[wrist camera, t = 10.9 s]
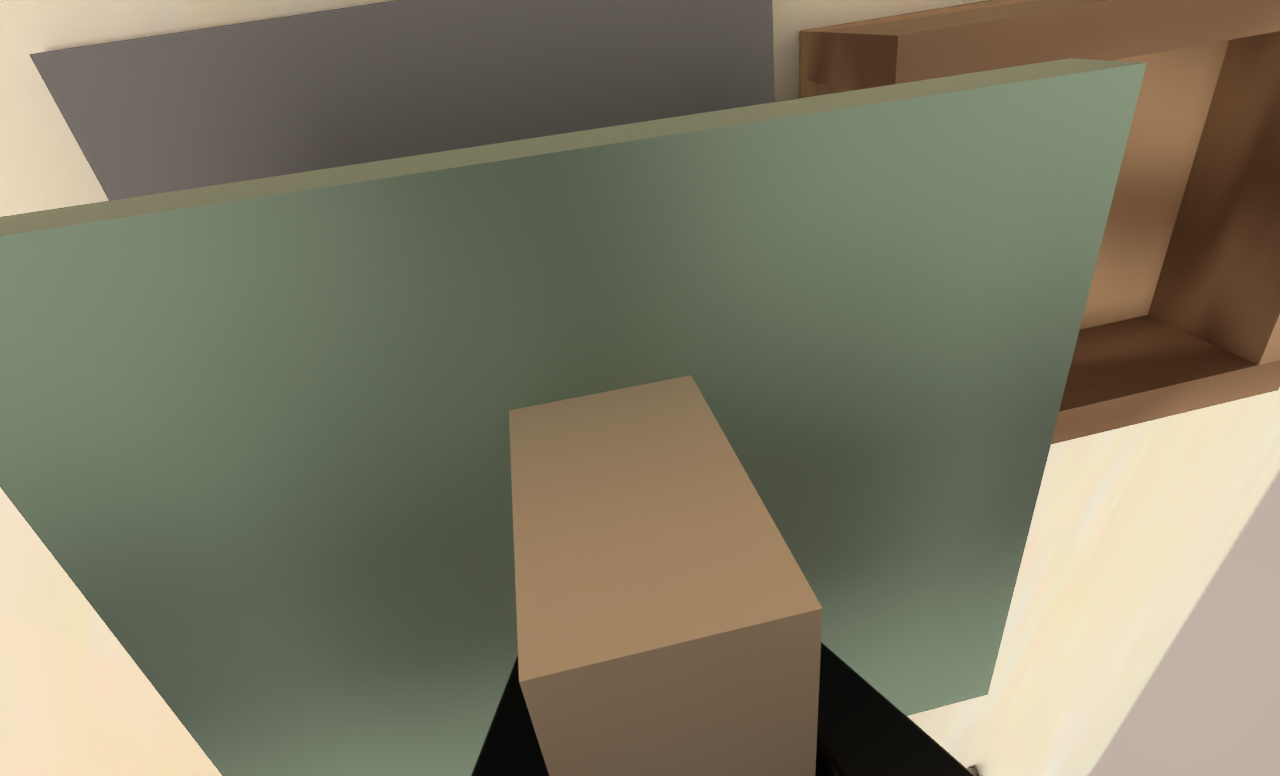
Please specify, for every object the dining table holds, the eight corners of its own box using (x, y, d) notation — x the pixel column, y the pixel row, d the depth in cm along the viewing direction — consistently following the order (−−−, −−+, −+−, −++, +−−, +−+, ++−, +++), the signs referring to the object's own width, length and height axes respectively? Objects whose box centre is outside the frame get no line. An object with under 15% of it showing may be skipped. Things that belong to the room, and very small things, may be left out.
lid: (952, 647, 15) (1151, 916, 10) (315, 810, 13) (224, 1210, 9) (1070, 58, 9) (1671, 92, 4) (-76, 229, 7) (-1016, 563, 3)
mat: (776, 453, 25) (781, 462, 24) (316, 558, 23) (312, 571, 22) (761, -53, 16) (771, -55, 16) (45, 53, 15) (28, 54, 14)
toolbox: (1158, 323, 25) (1331, 403, 20) (801, 403, 24) (887, 511, 19) (1313, -179, 18) (1660, -261, 12) (799, -107, 16) (946, -166, 11)
